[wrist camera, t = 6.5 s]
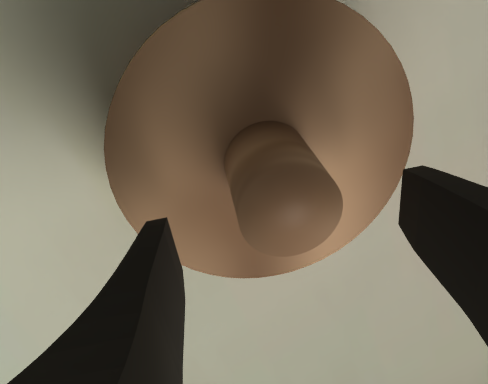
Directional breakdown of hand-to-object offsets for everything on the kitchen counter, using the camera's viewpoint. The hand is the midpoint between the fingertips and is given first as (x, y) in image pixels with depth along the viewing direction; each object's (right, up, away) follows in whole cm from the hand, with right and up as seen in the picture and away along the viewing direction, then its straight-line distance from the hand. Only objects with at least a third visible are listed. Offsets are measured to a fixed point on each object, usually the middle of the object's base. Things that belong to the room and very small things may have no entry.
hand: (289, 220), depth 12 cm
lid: (-1, +2, +3) cm, 4 cm away
